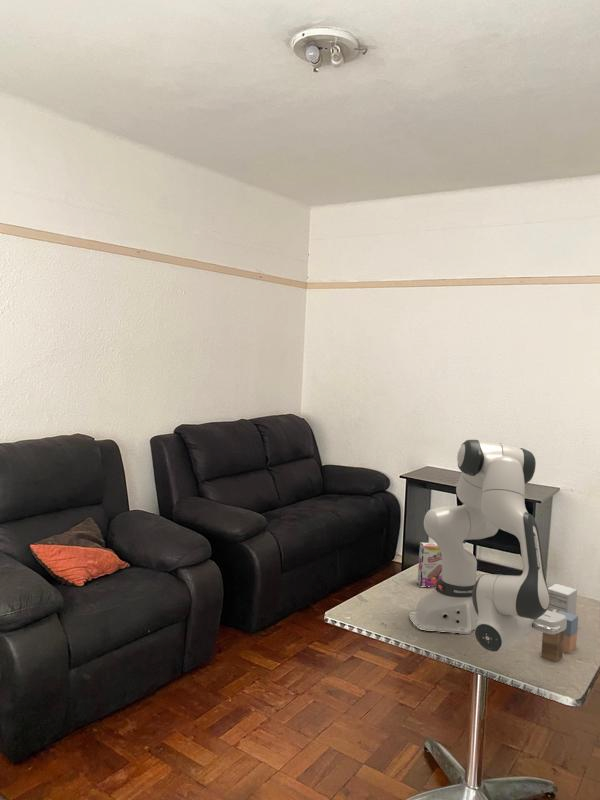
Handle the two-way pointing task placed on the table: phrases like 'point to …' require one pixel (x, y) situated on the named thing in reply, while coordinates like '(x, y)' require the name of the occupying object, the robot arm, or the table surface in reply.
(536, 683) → the table surface
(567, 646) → the terracotta block
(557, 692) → the table surface
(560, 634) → the walnut block
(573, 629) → the slate block
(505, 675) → the table surface
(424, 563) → the candy bar box
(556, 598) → the supplement box
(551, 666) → the table surface
